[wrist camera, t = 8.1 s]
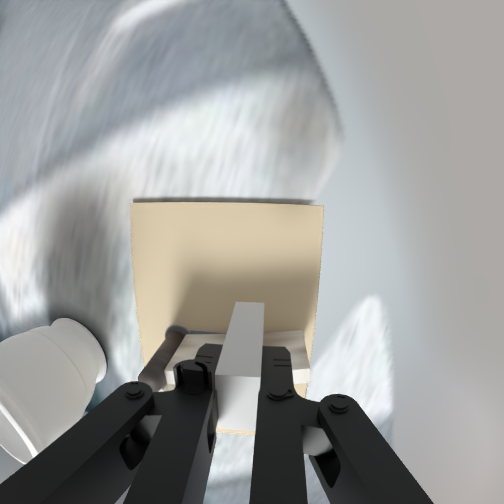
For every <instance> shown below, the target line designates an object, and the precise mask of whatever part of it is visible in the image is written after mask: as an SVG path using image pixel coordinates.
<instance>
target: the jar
mask: <svg viewBox="0 0 504 504" xmlns="http://www.w3.org/2000/svg"><path fill="white" fill-rule="evenodd" d="M106 369H107V364H106V359H105V355H104V352H103V350H102V348H101V346H100V344H99V343H98V341H97V340H96V338H95V337H94V336H93V335H92V333H91V332H90V331H89V330H88V329H87V328H85V327H84V326H83V325H82V324H80V323H78V322H77V321H75V320H72V319H69V318H59V319H57V320H55V321H54V322H53V323H52V324H51V326H44V327H38V328H35V329H32V330H29V331H27V332H25V333H21V334H17V335H14V336H12V337H10V338H7V339H5V340H4V341H2V342H0V445H1V447H2V448H4V449H5V450H6V451H7V452H8V453H9V454H10V455H11V456H13V457H14V458H15V459H17V460H18V461H19V462H21V463H22V464H24V465H25V464H26V463H28V462H29V461H30V460H31V459H33V458H34V457H35V456H36V455H38V454H39V453H40V452H41V451H43V450H44V449H45V448H46V447H48V446H49V445H50V444H51V443H52V442H54V441H55V440H56V439H57V438H59V437H60V436H61V435H62V434H63V433H65V432H66V431H67V430H68V429H69V428H71V427H72V426H73V425H74V424H76V423H77V422H78V421H79V420H80V419H81V417H82V415H83V413H84V411H85V408H86V406H87V405H88V403H89V401H90V399H91V397H92V395H93V392H94V389H95V385H96V383H98V382H100V381H101V380H102V379H103V378H104V376H105V374H106Z"/></svg>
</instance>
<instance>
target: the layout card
mask: <svg viewBox="0 0 504 504" xmlns="http://www.w3.org/2000/svg"><path fill="white" fill-rule="evenodd" d="M323 216H324V206H316V205H297V204H272V203H234V202H151V203H131V246H132V265H133V279H134V291H135V302H136V311H137V320H138V328H139V335H140V342H141V349H142V356H143V362H144V367H145V366H146V365H147V363H148V362H149V361H150V359H151V358H152V356H153V355H154V354H155V352H156V351H157V350H158V348H159V347H160V345H161V344H162V343H163V341H164V340H165V334H166V332H167V330H168V329H169V328H171V327H174V326H178V327H181V328H183V329H185V330H186V331H187V332H188V333H189V334H227V331H228V327H229V324H230V321H231V317H232V314H233V310H234V307H235V304H236V302H256V303H264V327H263V332H280V331H294V330H302V331H303V336H304V341H305V345H306V350H307V355H308V359H309V364H310V360H311V352H312V345H313V336H314V327H315V319H316V310H317V299H318V288H319V278H320V265H321V264H320V263H321V251H322V250H321V249H322V234H323ZM294 388H295V390H296V392H297V394H298V395H300V396H301V397H303V398H305V394H306V388H307V383H300V384H294ZM216 432H220V433H230V434H242V435H255V431H245V430H232V429H220V428H218V422H217V427H216Z"/></svg>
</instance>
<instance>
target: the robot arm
mask: <svg viewBox="0 0 504 504" xmlns="http://www.w3.org/2000/svg"><path fill="white" fill-rule="evenodd" d="M263 327H264V303H256V302H236V304H235V307H234V310H233V314H232V317H231V321H230V324H229V327H228V331H227V334H226V338H225V341H224V344H223V345H222V344H209V343H205V344H204V345H203V346H201V347H200V348H199V349H198V351H197V353H196V356H195V358H194V359H188V360H184V361H181V362H179V363H177V364H175V366H174V367H173V373H174V380H175V388H174V390H170V391H163V392H153V390H152V388H151V387H150V386H149V385H148V384H146V383H143V382H139V381H134V382H128V383H125V384H123V385H121V386H120V387H119V388H117V389H116V390H115V391H114V392H113V393H111V394H110V395H109V396H108V397H107V398H106V399H104V400H103V401H102V402H101V403H100V404H98V405H97V406H96V407H95V408H94V409H92V410H91V411H90V412H89V413H88V414H86V415H85V416H84V417H83V418H82V419H80V420H79V421H78V422H77V423H76V424H74V425H73V426H72V427H71V428H69V429H68V430H67V431H66V432H65V433H63V434H62V435H61V436H60V437H59V438H57V439H56V440H55V441H54V442H52V443H51V444H50V445H49V446H48V447H46V448H45V449H44V450H43V451H41V452H40V453H39V454H38V455H36V456H35V457H34V458H33V459H31V460H30V461H29V462H28V463H26V464H25V465H24V466H23V467H21V468H20V469H19V470H18V471H16V472H15V473H14V474H13V475H11V476H10V477H9V478H8V479H6V480H5V481H4V482H2V483H1V484H0V504H114V503H115V502H116V501H117V500H118V499H119V498H120V497H121V495H122V494H123V493H124V492H125V491H126V490H127V488H128V487H129V486H130V485H131V486H130V489H129V491H128V493H127V496H126V498H125V500H124V502H123V504H203V499H204V494H205V490H206V485H207V480H208V476H209V471H210V466H211V462H212V457H213V452H214V448H215V443H216V427H217V422H218V428H220V429H232V430H245V431H255V443H254V455H253V467H252V479H251V490H250V502H249V504H308V501H307V488H306V476H305V464H304V454H308V455H309V459H310V461H311V463H312V465H313V467H314V470H315V472H316V474H317V476H318V478H319V480H320V483H321V485H322V487H323V489H324V491H325V493H326V495H327V497H328V499H329V502H330V504H434V503H433V502H432V501H431V499H430V498H429V497H428V495H427V494H426V493H425V491H424V490H423V489H422V488H421V486H420V485H419V484H418V482H417V481H416V480H415V478H414V477H413V476H412V474H411V473H410V472H409V471H408V469H407V468H406V467H405V465H404V464H403V463H402V461H401V460H400V459H399V457H398V456H397V455H396V453H395V452H394V451H393V449H392V448H391V447H390V445H389V444H388V443H387V442H386V440H385V439H384V438H383V436H382V435H381V434H380V432H379V431H378V430H377V428H376V427H375V426H374V424H373V423H372V422H371V420H370V419H369V418H368V416H367V415H366V414H365V412H364V411H363V410H362V408H361V407H360V406H359V404H358V403H357V402H356V401H355V400H354V399H353V398H351V397H349V396H347V395H342V394H332V395H329V396H326V397H324V398H323V399H322V400H321V401H320V402H316V401H311V400H307V399H305V398H303V397H301V396H300V395H298V394H297V392H296V390H295V388H294V382H293V372H292V363H291V354H290V352H289V351H288V349H287V348H286V347H284V346H263Z"/></svg>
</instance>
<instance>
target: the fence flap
mask: <svg viewBox="0 0 504 504" xmlns="http://www.w3.org/2000/svg"><path fill="white" fill-rule="evenodd" d="M225 338H226V334H186V336H184V335H183V334H182V333H180V332H177V331H173V332H171V333H169V335H168V336H167V337H166V339H165V340H164V341H163V343H162V344H161V345H160V347H159V348H158V350H157V351H156V352H155V354H154V355H153V356H152V358H151V359H150V361H149V362H148V363H147V365H146V366H145V367H144V369H143V370H142V372H141V373H140V374H139V376H138V381H139V382H143V383H146V384H148V385H149V386H150V387H151V388H152V390H153V392H158V391H159V390H160V389H161V388H162V386H163V384H164V382H165V380H167V383H168V384H174V385H175V380H174V373H173V367H174V366H175V364H177V363H179V362H181V361H184V360H188V359H194V358H195V356H196V353H197V351H198V349H199V348H200V347H201V346H203V345H204V344H205V343H209V344H222V345H223V344H224V341H225ZM263 346H284V347H286V348H287V349H288V351H289V352H290V354H291V363H292V372H293V382H294V384H300V383H310V364H309V359H308V355H307V350H306V345H305V341H304V336H303V331H302V330H294V331H280V332H263Z"/></svg>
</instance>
